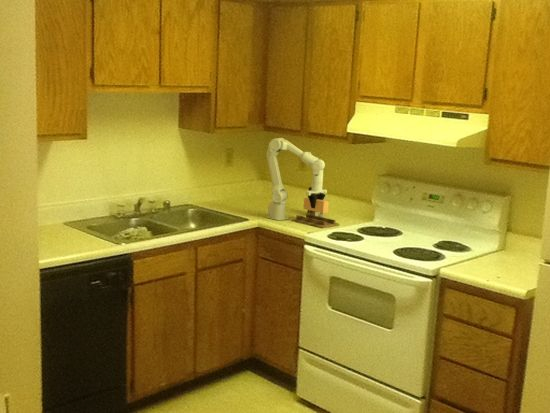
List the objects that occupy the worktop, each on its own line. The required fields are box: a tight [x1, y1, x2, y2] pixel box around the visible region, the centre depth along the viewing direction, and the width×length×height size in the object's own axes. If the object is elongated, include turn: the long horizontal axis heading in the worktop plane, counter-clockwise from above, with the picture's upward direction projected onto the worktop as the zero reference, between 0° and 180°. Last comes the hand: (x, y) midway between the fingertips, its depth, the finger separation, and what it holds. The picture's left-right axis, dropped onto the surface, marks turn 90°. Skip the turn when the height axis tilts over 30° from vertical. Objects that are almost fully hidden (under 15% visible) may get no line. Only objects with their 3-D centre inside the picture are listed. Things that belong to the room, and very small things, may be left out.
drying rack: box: [291, 213, 341, 229], centre depth 382 cm, size 22×14×3 cm, turn 46°
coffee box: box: [306, 186, 327, 218], centre depth 400 cm, size 9×6×16 cm
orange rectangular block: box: [303, 197, 330, 214], centre depth 380 cm, size 14×4×6 cm, turn 45°
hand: (315, 207), depth 380 cm, fingers closed on orange rectangular block, 4 cm apart
